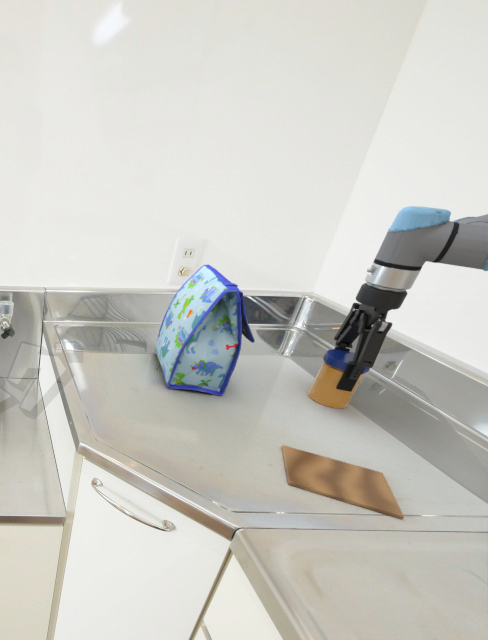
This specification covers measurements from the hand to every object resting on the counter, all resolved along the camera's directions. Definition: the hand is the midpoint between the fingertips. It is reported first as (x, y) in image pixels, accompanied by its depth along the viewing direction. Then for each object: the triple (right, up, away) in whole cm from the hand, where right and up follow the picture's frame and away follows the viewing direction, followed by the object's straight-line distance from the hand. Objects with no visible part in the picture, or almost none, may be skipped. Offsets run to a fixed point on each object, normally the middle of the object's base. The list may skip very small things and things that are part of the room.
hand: (336, 380), depth 99 cm
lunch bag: (-30, +2, +11) cm, 32 cm away
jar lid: (0, +5, -3) cm, 6 cm away
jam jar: (0, -5, +3) cm, 5 cm away
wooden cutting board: (-19, -18, -23) cm, 35 cm away
